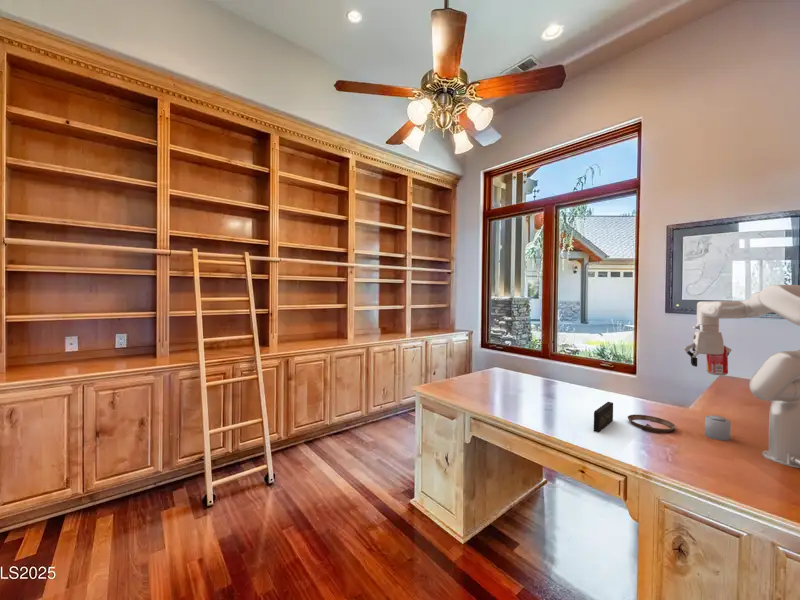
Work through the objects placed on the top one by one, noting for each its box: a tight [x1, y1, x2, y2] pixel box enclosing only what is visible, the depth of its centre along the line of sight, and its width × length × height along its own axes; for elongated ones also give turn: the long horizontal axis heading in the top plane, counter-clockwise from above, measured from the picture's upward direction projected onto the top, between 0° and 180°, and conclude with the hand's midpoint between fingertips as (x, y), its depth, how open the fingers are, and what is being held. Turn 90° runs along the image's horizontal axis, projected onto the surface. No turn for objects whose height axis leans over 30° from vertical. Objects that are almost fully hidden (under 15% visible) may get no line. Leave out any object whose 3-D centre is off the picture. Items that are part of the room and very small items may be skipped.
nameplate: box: [593, 401, 614, 433], centre depth 156 cm, size 21×2×10 cm, turn 134°
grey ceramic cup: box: [704, 414, 732, 442], centre depth 146 cm, size 8×8×9 cm
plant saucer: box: [627, 414, 677, 434], centre depth 158 cm, size 18×18×3 cm
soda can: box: [705, 344, 729, 376], centre depth 156 cm, size 7×7×13 cm
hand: (707, 366), depth 156 cm, fingers open, 9 cm apart
